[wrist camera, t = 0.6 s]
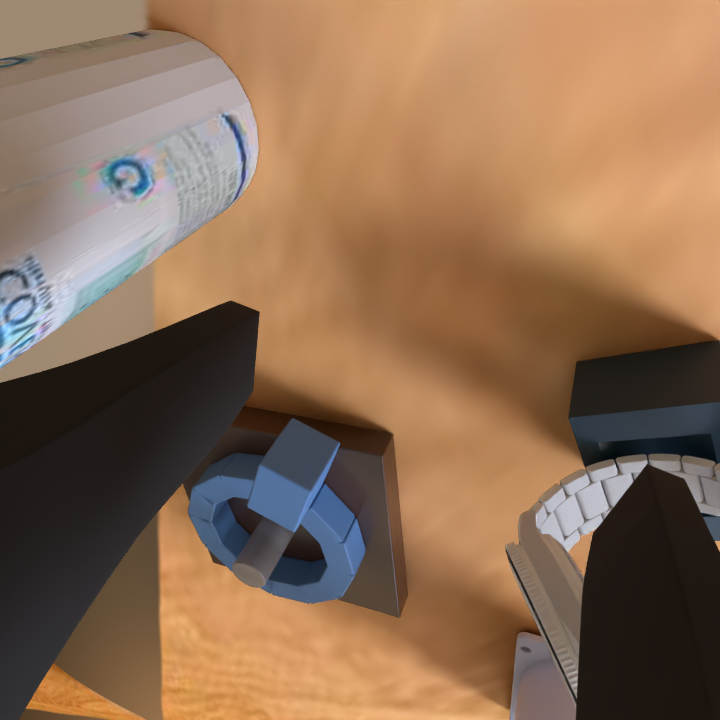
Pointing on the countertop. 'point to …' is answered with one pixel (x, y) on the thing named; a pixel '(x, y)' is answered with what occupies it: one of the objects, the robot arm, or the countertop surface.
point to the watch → (618, 473)
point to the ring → (283, 512)
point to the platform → (349, 483)
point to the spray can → (109, 168)
